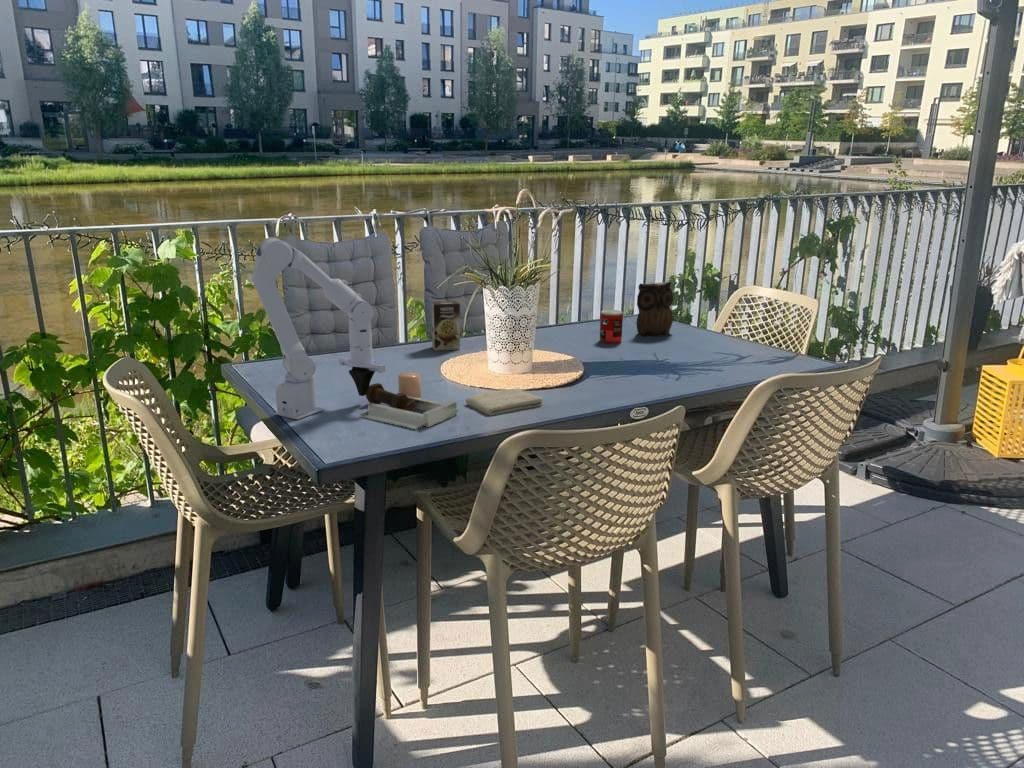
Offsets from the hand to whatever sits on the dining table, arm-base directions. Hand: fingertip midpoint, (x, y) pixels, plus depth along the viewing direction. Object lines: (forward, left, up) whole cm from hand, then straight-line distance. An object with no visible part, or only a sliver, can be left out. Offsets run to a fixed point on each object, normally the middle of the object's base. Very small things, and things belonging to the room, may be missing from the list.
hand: (363, 394), depth 200 cm
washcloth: (+20, -32, -3) cm, 38 cm away
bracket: (0, -16, -2) cm, 16 cm away
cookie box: (+63, +20, -3) cm, 66 cm away
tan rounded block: (+12, -6, -2) cm, 14 cm away
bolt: (+1, -9, -3) cm, 9 cm away
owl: (+127, -30, -3) cm, 131 cm away
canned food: (+105, -23, -3) cm, 108 cm away
